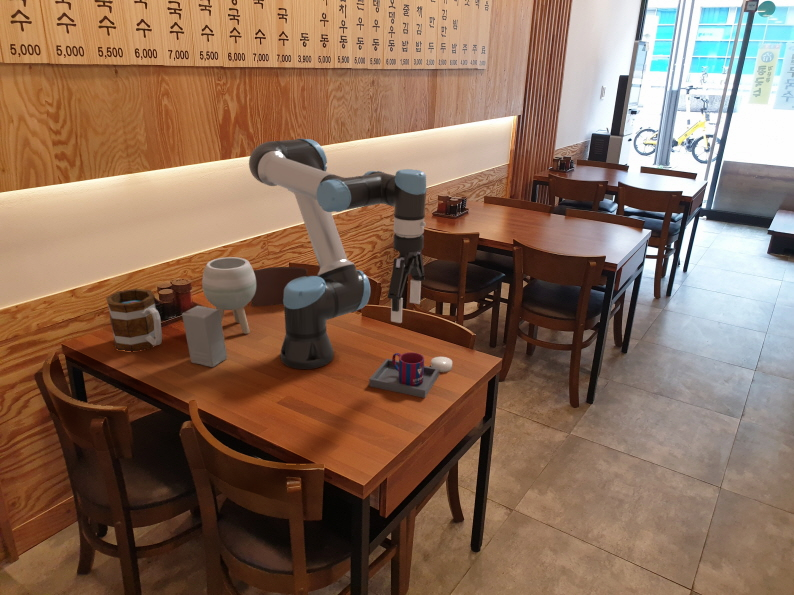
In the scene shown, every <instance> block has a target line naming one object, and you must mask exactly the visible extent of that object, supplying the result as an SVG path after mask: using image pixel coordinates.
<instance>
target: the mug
mask: <svg viewBox="0 0 794 595" xmlns="http://www.w3.org/2000/svg"><path fill="white" fill-rule="evenodd" d="M105 299H106V302H107V305H108V310H109V321H110V325H111V326H110V327H111V329H112V334H113V345H114V344H115V345H114V347H115V346H116V348H115V350H116V349H118V350H125V351H131V352H133V351H138V352H141V351H140V350H142V351H145V350H144V349H147V350H151V349H152V348H154V347H155V346H158V345H161V344H162V340H163V333H162V325H161V323H162V321H161V316H160V313H159V311H158V309H157V308H156V302H155V293H153V291H152V290H151V289H143V288H130V289H125V290H120V291H116V292H114V293H112V294H110V295H108V296H106V298H105ZM153 346H154V347H153ZM150 348H151V349H150ZM131 352H130V353H131ZM133 353H134V352H133Z"/></svg>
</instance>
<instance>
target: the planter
mask: <svg viewBox="0 0 794 595" xmlns="http://www.w3.org/2000/svg"><path fill="white" fill-rule="evenodd" d="M253 270H254V269H253V267H252V265H251V263H250V261H249V260H248V259H246V258H244V257H239V256H238V257H237V256H236V257H235V256H234V257H233V256H229V257H219V258H215V259H212V260H210V261H208V262H207V263H206V265H205V267H204V270H203V273H202V279H201V280H202V282H201V283H202V284H201V286H202V292H203V294H204V296H205V298H206V300H207V302H209V303H210V304H211V305H212V306H214V307H215V309H219V312H220V318H221V324H222V322H223V319H224V315H225V314H224V313H225V311H232V313H233V318H234V321H235V323H237V324H239V325H240V328H241V330H242V334H245V335H248V334H249V333H250V327H249V324H248V319H247V314H246V311H245V310H246V309H245V307H247V306H248V304H249V303H250V302H252V301H251V299H252V298H253V296H254V294H255V292H256V278H255V274H254V271H253Z"/></svg>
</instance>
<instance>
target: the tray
mask: <svg viewBox="0 0 794 595" xmlns="http://www.w3.org/2000/svg"><path fill="white" fill-rule="evenodd" d="M395 362H396V365H397V366H398V367H399V360H396V359H395ZM439 377H440V372H439V369H438V368H433V367H431V366H428V365H424V376H423V383H422V384H420V385H418V386H409V385H404V384H401V383H400V382H399V372H398V371H397V370H396V369H395V367H394V365H393V362H392V358H386V359H385V360H384V361H383V362H382V363H381V364H380V366H379V367H378V368H377V369H376V370H375V372H374V373H373V374H372V375H371V376H370V377H369V379H368V380H369V381H368V386H369V387H371V388H376V389H381V390H385V391H390V392H395V393H400V394H403V395H409V396H414V397H419V398H423V399H425V398H426V397H427V395H428V394H429V392H430V390H431V389H432V387H433V386H434V384H435V382H436V381H437V379H438V378H439Z"/></svg>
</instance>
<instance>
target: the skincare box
mask: <svg viewBox="0 0 794 595" xmlns="http://www.w3.org/2000/svg"><path fill="white" fill-rule="evenodd" d="M181 317H182V321H183V327H184V330H185V331H184V332H185V338H186V342H187V347H188V353H189V357H190V362H191V363H193V364H197V365H201V366H206V367H210V368H215V367H216V366H218V365H219V364H221V363H222V362H223V361H225V360H227V358H228V355H227V354H228V353H227V349H226V348H227V347H226V343H225V336H224V331H223V325H222V323H221V318H220V312H219V309H216V308H212V307H208V306H207V307H206V306H202V305H196V306H194V307H192V308H190V309H188V310H186V311H184V312H183V313H181Z"/></svg>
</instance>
